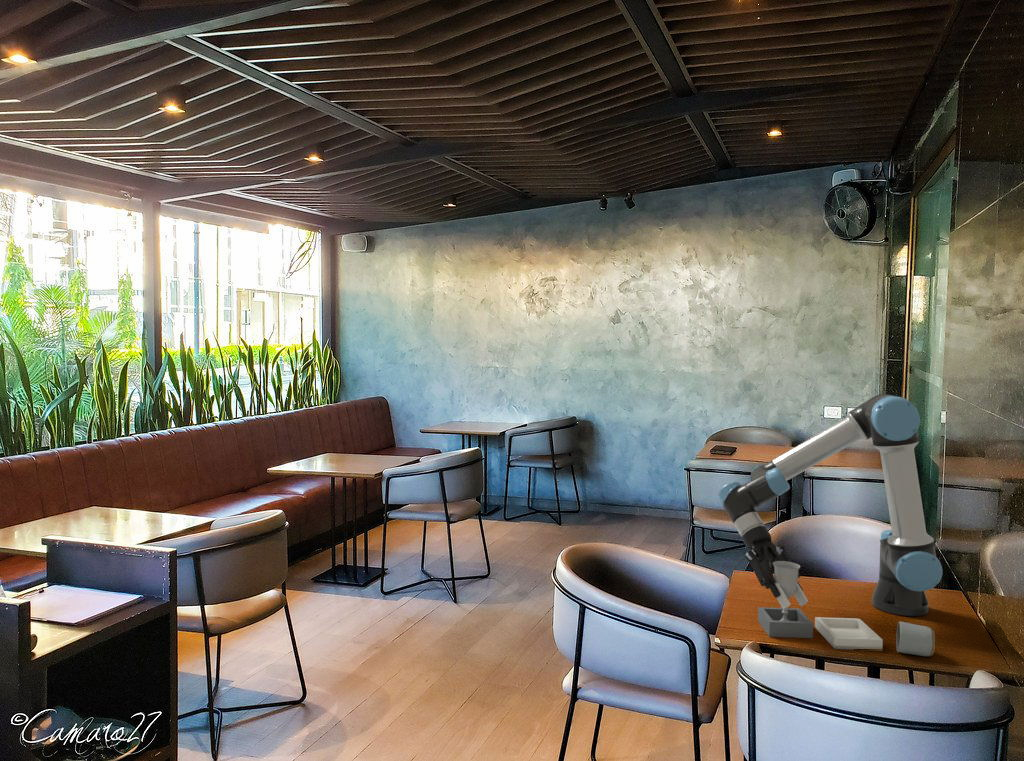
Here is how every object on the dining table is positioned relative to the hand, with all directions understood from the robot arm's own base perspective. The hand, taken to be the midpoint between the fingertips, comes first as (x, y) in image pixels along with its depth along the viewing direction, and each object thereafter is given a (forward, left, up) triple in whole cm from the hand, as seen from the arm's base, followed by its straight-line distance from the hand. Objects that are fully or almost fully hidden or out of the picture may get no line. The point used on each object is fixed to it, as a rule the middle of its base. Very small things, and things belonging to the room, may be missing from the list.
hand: (795, 605), depth 205 cm
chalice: (+2, -3, -8) cm, 9 cm away
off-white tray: (-13, +2, -8) cm, 15 cm away
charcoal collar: (+2, -3, -8) cm, 9 cm away
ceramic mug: (-27, +9, -8) cm, 29 cm away
